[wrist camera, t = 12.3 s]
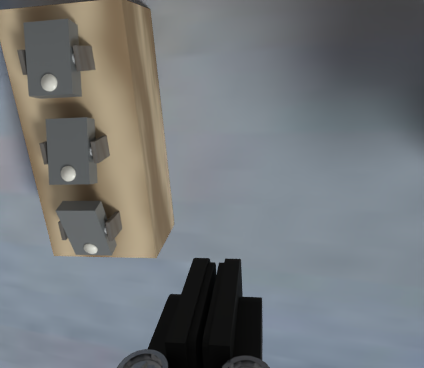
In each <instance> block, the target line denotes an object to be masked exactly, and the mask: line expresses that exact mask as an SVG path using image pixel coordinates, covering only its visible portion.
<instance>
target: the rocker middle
mask: <svg viewBox="0 0 424 368" xmlns="http://www.w3.org/2000/svg"><path fill="white" fill-rule="evenodd" d="M46 137H47V155H48V172H49V185H76V184H95V183H98V180H97V163H94V159H93V154H92V148H91V143H90V142H91V141H93V140H95V139H96V137H95V119H92V118H88V117H81V118H57V119H46Z"/></svg>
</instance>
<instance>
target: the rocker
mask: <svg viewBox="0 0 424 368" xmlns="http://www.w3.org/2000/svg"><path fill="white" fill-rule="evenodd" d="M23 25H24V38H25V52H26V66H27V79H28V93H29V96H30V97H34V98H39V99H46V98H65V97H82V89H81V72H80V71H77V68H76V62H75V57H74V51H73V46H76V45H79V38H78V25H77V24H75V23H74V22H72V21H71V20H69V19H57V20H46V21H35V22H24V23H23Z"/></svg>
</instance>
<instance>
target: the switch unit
mask: <svg viewBox="0 0 424 368" xmlns="http://www.w3.org/2000/svg"><path fill="white" fill-rule="evenodd" d="M57 19H69V20H71V21H72V22H74V23H75V24H77V25H78V38H79V45H76V46H73V51H74V57H75V62H76V68H77V71H80V72H81V89H82V97H65V98H46V99H39V98H34V97H30V96H29V93H28V79H27V66H26V52H25V38H24V25H23V23H24V22H35V21H46V20H57ZM0 42H1V46H2V50H3V54H4V58H5V62H6V66H7V70H8V74H9V78H10V82H11V86H12V90H13V94H14V98H15V102H16V106H17V110H18V114H19V118H20V122H21V126H22V130H23V134H24V138H25V142H26V146H27V150H28V154H29V158H30V162H31V166H32V170H33V174H34V178H35V182H36V186H37V190H38V194H39V198H40V202H41V206H42V210H43V214H44V218H45V222H46V226H47V230H48V234H49V238H50V242H51V246H52V250H53V254H54V256H85V257H130V258H157V256H158V254H159V252H160V250H161V249H162V247H163V245H164V243H165V241H166V239H167V237H168V235H169V233H170V232H171V230H172V228H173V226H174V217H173V208H172V199H171V190H170V181H169V172H168V163H167V154H166V145H165V136H164V127H163V118H162V109H161V100H160V91H159V82H158V73H157V64H156V55H155V47H154V38H153V29H152V20H151V11H150V9H148V8H146V7H143V6H141V5H138V4H135V3H133V2H130V1H127V0H97V1H86V2H76V3H66V4H56V5H45V6H35V7H25V8H15V9H4V10H0ZM81 117H88V118H92V119H95V137H96V139H95V140H93V141H91V142H90V143H91V148H92V154H93V159H94V163H97V180H98V183H95V184H76V185H49V172H48V155H47V137H46V119H57V118H81ZM62 201H101V202H102V205H103V208H104V210H105V213H106V216H107V219H108V220H107V221H106V223H105V224H106V229H107V234H108V240H109V241H113V240H114V239H115V241H116V244H117V246H116V248H115V250H114V252H113V254H112V256H109V255H76V254H75V252H74V250H73V248H72V245H71V243H70V241H69V239H68V237H67V235H66V232H65V230H64V228H63V226H62V224H61V222H60V219H59V217H58V215H57V213H56V209H57V208H58V207H59V205H60V204H61V203H62Z"/></svg>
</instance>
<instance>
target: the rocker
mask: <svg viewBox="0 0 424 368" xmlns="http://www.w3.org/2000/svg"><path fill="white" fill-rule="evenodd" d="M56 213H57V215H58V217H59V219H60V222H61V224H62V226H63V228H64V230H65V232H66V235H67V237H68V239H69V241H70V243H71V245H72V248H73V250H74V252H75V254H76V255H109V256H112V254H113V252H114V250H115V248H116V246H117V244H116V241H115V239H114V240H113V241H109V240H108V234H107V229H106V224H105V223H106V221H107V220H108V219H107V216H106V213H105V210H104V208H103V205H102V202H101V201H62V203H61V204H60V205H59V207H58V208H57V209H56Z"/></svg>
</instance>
